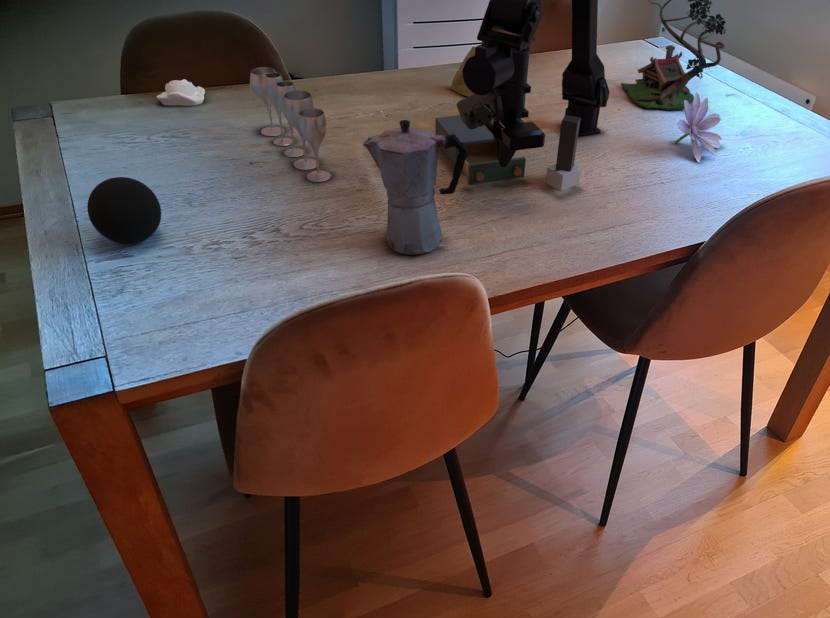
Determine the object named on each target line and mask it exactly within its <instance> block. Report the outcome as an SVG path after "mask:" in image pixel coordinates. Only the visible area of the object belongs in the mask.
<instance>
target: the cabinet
mask: <svg viewBox="0 0 830 618" xmlns="http://www.w3.org/2000/svg"><path fill="white" fill-rule="evenodd" d="M434 128H435V129H434V131H435V134H434V135H445V136H447V135H452V134H455V135H456V137H457V138H458V139H459V141H460V142H462V143H463V145H470V144H478V143H486V142H495V141H494V137H493V134H492V133H491V132H490V131H489V130H488V129H487V128H486V126H485V125H483V126H481V127H479V126H478V127H477V128H475V129H468V128H467V126H466V125H465V124H464V123H463V122H462V120H461V117H460V114H458V115H449V116H439V117H435V127H434ZM441 151H442V152H443V154H444V155H445V156H446V157H447V159H448V160H449V162H450V163H451V164H452V165H453V167H455V164H456V161H457V156H458V154H459V150H458V149H457V148H456V147H450V148H447V149H441Z"/></svg>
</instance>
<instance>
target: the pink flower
mask: <svg viewBox="0 0 830 618" xmlns="http://www.w3.org/2000/svg"><path fill="white" fill-rule="evenodd" d="M693 97H694V100H693V102H692V103H691V104H689V102H688V101H687V100H684V109H683V110H684V116H685V119H686V120H684V119H679V120H678V121H677V123H676V126H677V128H678V129H679V131H681V133H683V135H681V136H680V137H679V138H677V139H676V140H675V141H674V144H675V145H677V144H678V143H680V142H681V141H682V140H683V139H685V138H686V137H688V136H689V137H690V146H691V150H692V154H693V156H694V159H695V160H696V162H697V163H700V161H701V159H702V149H701V146H702V148H704V149H705V150H706V151H707V152H709V153H710V154H712V155H713V156H715V157H717V156H718V154H717V150H716V149H720V148H721V146H720V145H721V143H720V141H722V140H723V138H722V137H721V135H719V134H718V133H715V132H711V131H709V130H710V129H712V128H715V127H716V126H717V125H719V123H721V120H722V119H721V117H720V113H716V112H715V113H711V114H708V115H707V113H708V110H709V98H708V97H705V98H704V99H703V100H702V101H701V97H700V94H699V93H698V91H697V92H695V94H694V96H693ZM700 145H701V146H700Z"/></svg>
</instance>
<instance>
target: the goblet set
mask: <svg viewBox="0 0 830 618" xmlns="http://www.w3.org/2000/svg"><path fill="white" fill-rule="evenodd" d="M249 87H250V90H251V92H252V93H253V95H254V96H256V97H257V98H258V99H259V100H261V102H263V103H264V104H265V106H266V109H267V112H268V117H269V123H270V126H266V127H264V128H262V129H261V131H260V133H261V134H262V135H263V136H266V137H277V138H275V139H274V140H273V141H272V143H273V144H274V145H275V146H278V147H286V146H290V145H292V148H287V149H286V150H285V151H283V154H284V156H286V157H289V158H298V157H299V158H300V157H302V156H303V157H304V158H300V159H297V160H295V162H293V166H294V168H295V169H298V170H300V171H310V170H313V169H316V170H313V171H310V172H308V173H307V175H306V179H307V180H308V181H310V182H313V183H322V182H323V183H324V182H326V181H328V180H330V179H331V177H332V174H331V173H330V172H329V171H327V170H320V166H319V165H320V162H319V149H320V147H321V145H322V142H323V141H324V138H325V137H326V134H327V119H326V115H325V112H324V110H322V109H320V108H316V107H315V106H314V101H313V97H312V94H311V93H310V91H306V90H301V89H300V90H299V89H298V90H297V88H296V86H295V83H294V82H293V81H291V80H284V78H283V75H282V73H280V72H277V71H276V69H275V68H273V67H267V66H261V67H256V68H252V69H251V70H250V75H249ZM272 106H273V108H274V109H275V112H276V115H277V118H278V123H279V126H274V124H273V119H272ZM282 115H283V117H284V118H285V120H286V122H287V125H288V127H289V131H290V136H291V138H290V137H284V133H285V129H284V128H283V122H282ZM294 130H295V131H296V132H297V133H298V135H299V137H300V140H301V145H302V148H299V147H296V146H295V140H294ZM280 135H281V137H279V136H280ZM306 142H307V144H308V145H309V146H310V148H311V149H312V151H313V154H314V158H309V157H308V156H307V148H306Z"/></svg>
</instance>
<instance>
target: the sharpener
mask: <svg viewBox="0 0 830 618" xmlns="http://www.w3.org/2000/svg"><path fill="white" fill-rule="evenodd" d="M580 120H581V118H580V117H574V116H569V115H565V114H564V116H563V117H562V119H561V123H560V131H559V138H558V147H557V154H556V162H555V164H552V165H549V166H547V167H546V175H545V184H546V185H548V186H550V187H552V188H553V189H555V190H557V191H559V192H563V191H565V190H568V189H571V188H573V187H574V186H575V187H576V186H577V185H580V182H581V177H582V176H581V175H582V170H583V168H582V167H581V166H579V165H576V164H575V160H576V152H577V146H578V140H579V136H578V133H579V126H580Z"/></svg>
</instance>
